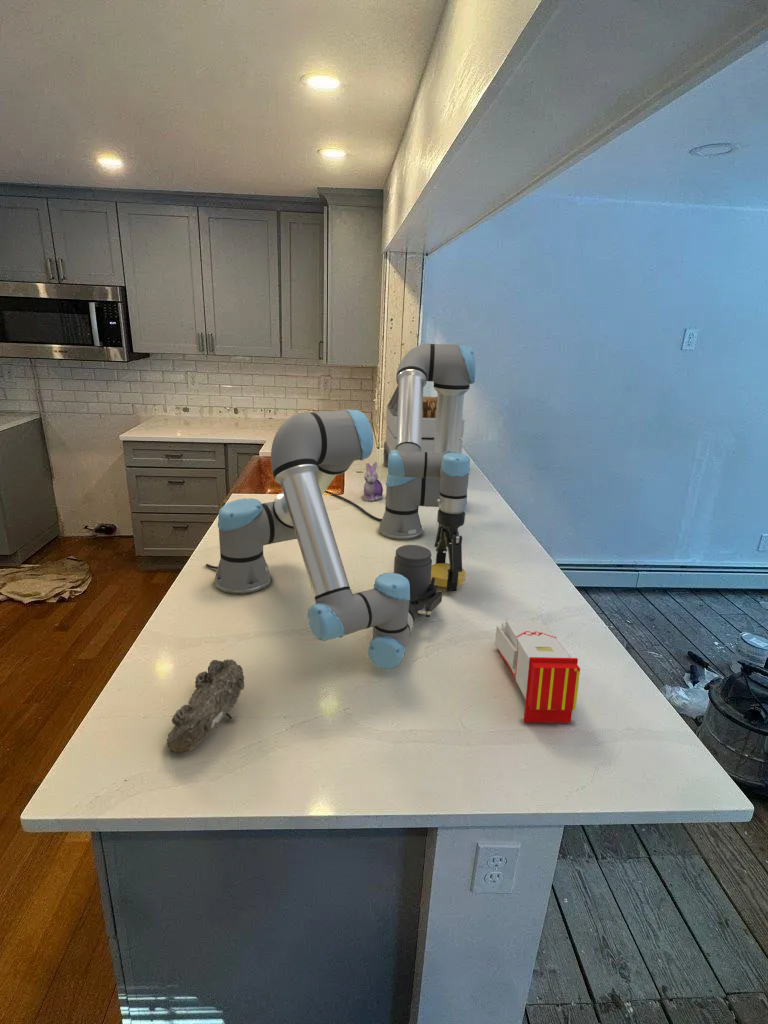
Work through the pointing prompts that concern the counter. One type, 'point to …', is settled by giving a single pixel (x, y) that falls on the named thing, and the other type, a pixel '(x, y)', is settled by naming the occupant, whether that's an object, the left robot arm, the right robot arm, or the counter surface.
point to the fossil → (206, 705)
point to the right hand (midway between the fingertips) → (445, 581)
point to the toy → (540, 670)
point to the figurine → (372, 484)
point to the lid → (444, 574)
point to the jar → (414, 568)
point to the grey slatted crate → (427, 425)
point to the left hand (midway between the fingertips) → (414, 579)
